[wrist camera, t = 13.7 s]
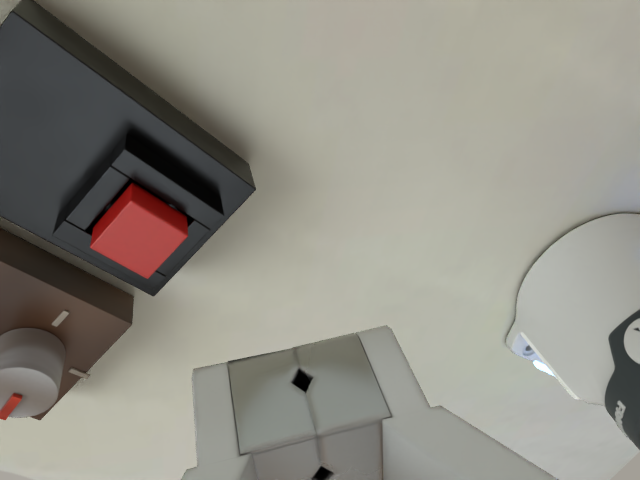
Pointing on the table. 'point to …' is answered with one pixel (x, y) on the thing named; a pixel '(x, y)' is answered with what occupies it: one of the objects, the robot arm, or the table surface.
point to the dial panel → (60, 306)
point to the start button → (139, 231)
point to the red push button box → (100, 146)
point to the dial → (29, 371)
